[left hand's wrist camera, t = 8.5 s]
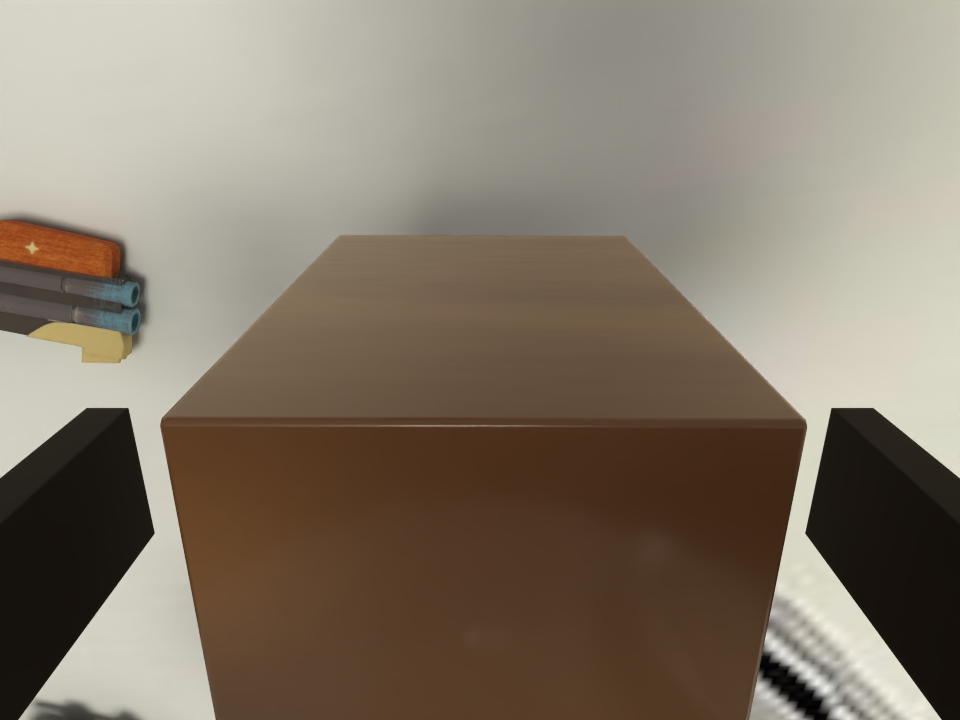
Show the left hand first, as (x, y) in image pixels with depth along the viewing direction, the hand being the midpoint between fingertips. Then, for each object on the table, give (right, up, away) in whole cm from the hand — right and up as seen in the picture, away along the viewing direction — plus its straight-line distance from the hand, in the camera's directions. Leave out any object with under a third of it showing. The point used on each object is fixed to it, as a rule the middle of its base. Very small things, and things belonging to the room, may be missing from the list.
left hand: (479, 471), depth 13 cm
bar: (0, -6, +5) cm, 8 cm away
